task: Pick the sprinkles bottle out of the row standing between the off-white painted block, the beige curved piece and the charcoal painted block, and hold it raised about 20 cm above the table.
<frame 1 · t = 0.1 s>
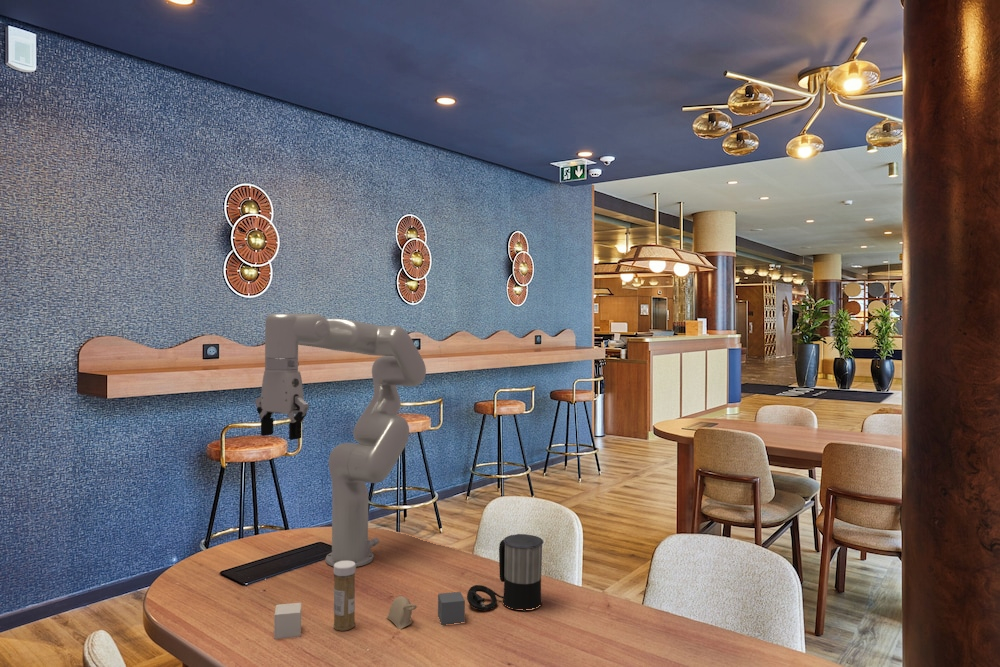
hand: (280, 436, 160), 37 cm above the table, tool pointing down, fingers open, 9 cm apart
charcoal block: (451, 620, 145), on the table
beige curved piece: (401, 624, 143), on the table
sprinkles bottle: (344, 627, 141), on the table
milk frother: (505, 605, 153), on the table
off-white block: (288, 632, 138), on the table
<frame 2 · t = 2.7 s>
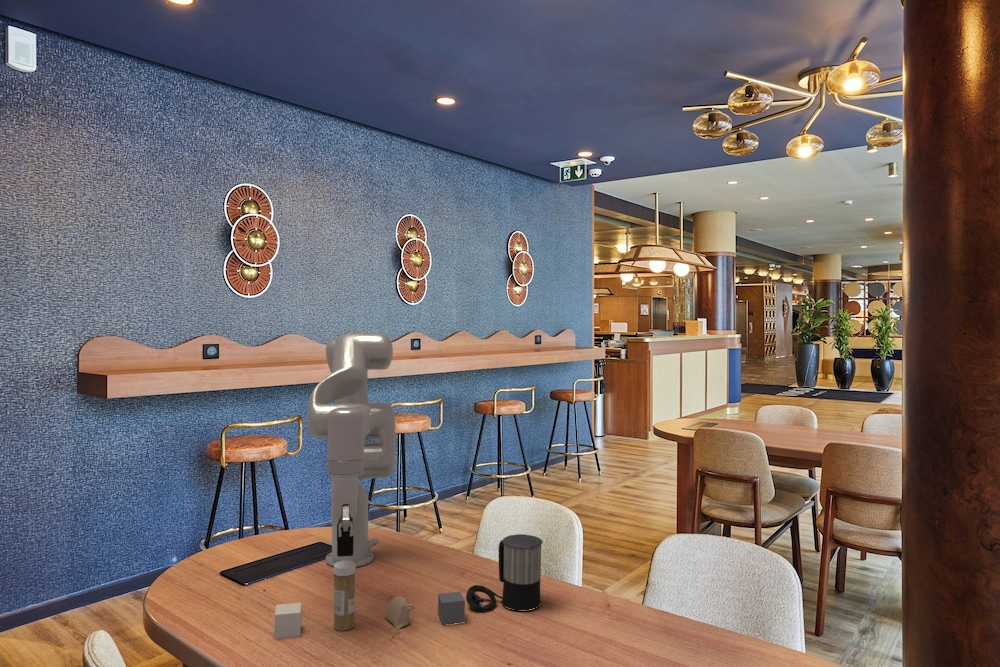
hand: (344, 548, 140), 17 cm above the table, tool pointing down, fingers open, 9 cm apart
nothing on the table moved.
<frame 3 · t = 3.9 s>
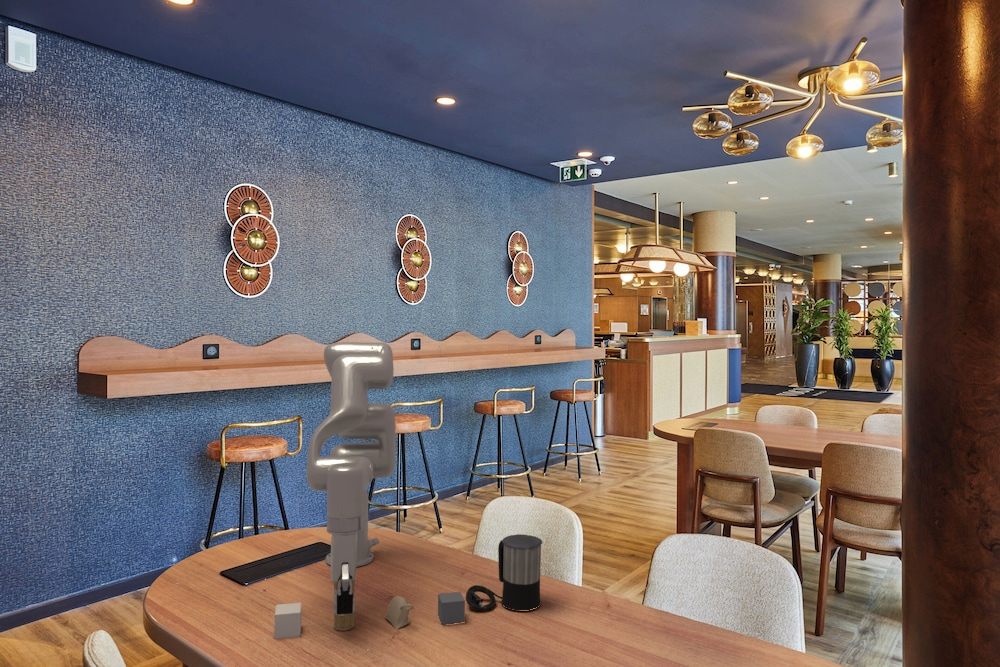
hand: (344, 603, 141), 5 cm above the table, tool pointing down, fingers open, 9 cm apart
nothing on the table moved.
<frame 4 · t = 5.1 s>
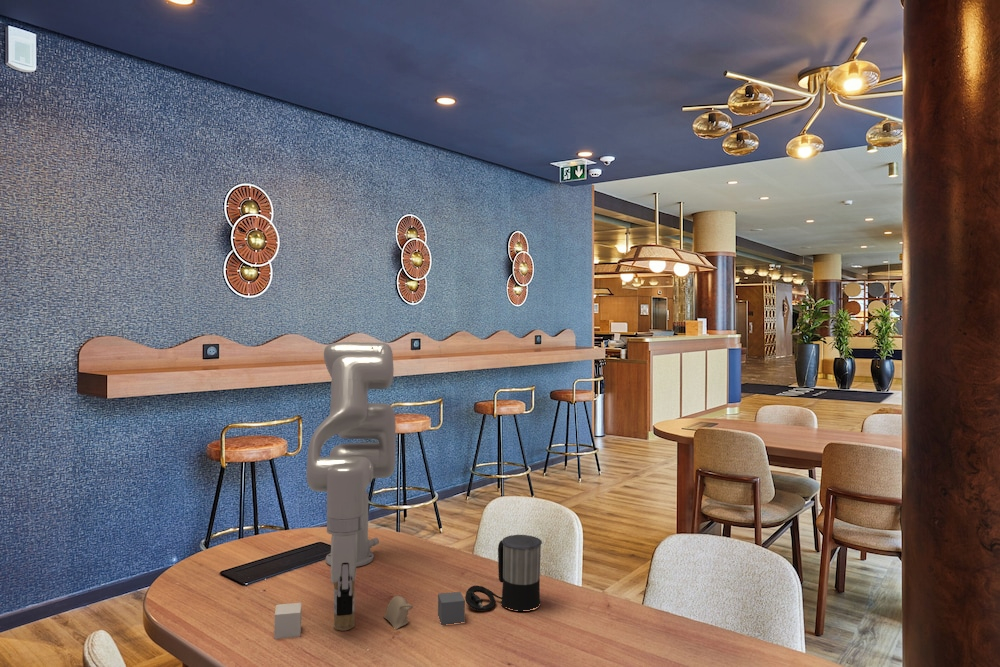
hand: (344, 608, 141), 4 cm above the table, tool pointing down, fingers closed on sprinkles bottle, 4 cm apart
sprinkles bottle: (344, 627, 141), on the table, touching gripper
everything else where it was.
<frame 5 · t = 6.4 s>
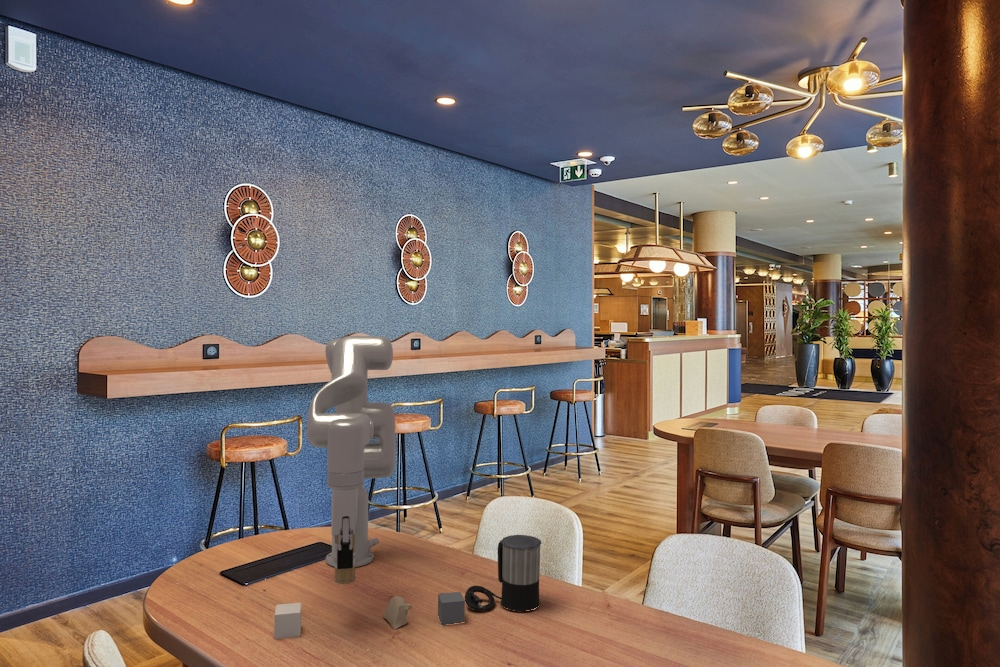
hand: (344, 562, 141), 13 cm above the table, tool pointing down, fingers closed on sprinkles bottle, 4 cm apart
sprinkles bottle: (344, 581, 142), point 9 cm above the table, touching gripper
everything else where it was.
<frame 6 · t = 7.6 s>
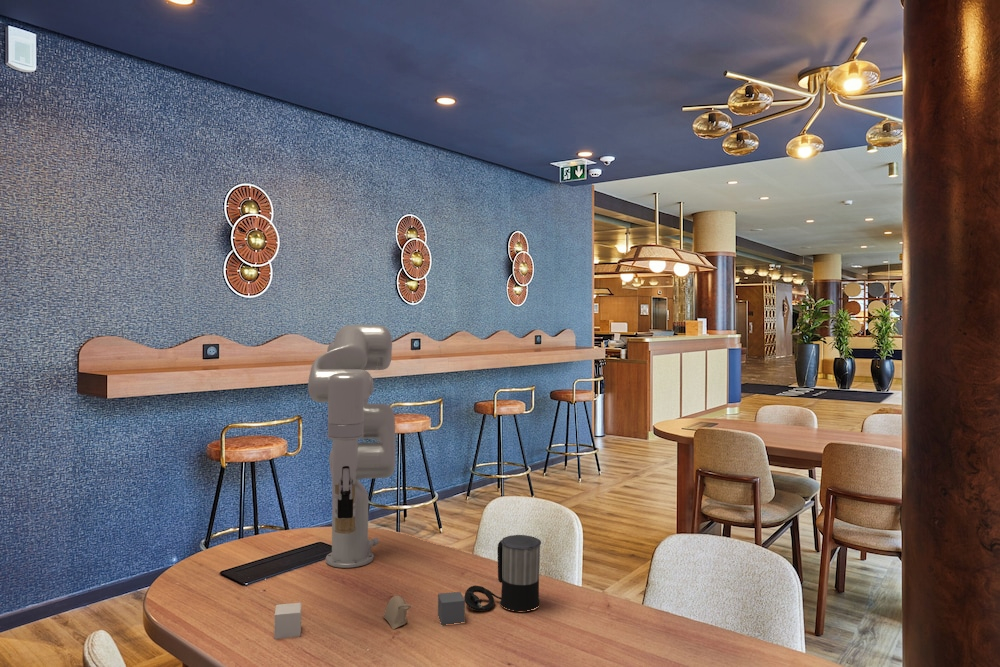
hand: (345, 513, 145), 23 cm above the table, tool pointing down, fingers closed on sprinkles bottle, 4 cm apart
sprinkles bottle: (344, 531, 145), point 19 cm above the table, touching gripper
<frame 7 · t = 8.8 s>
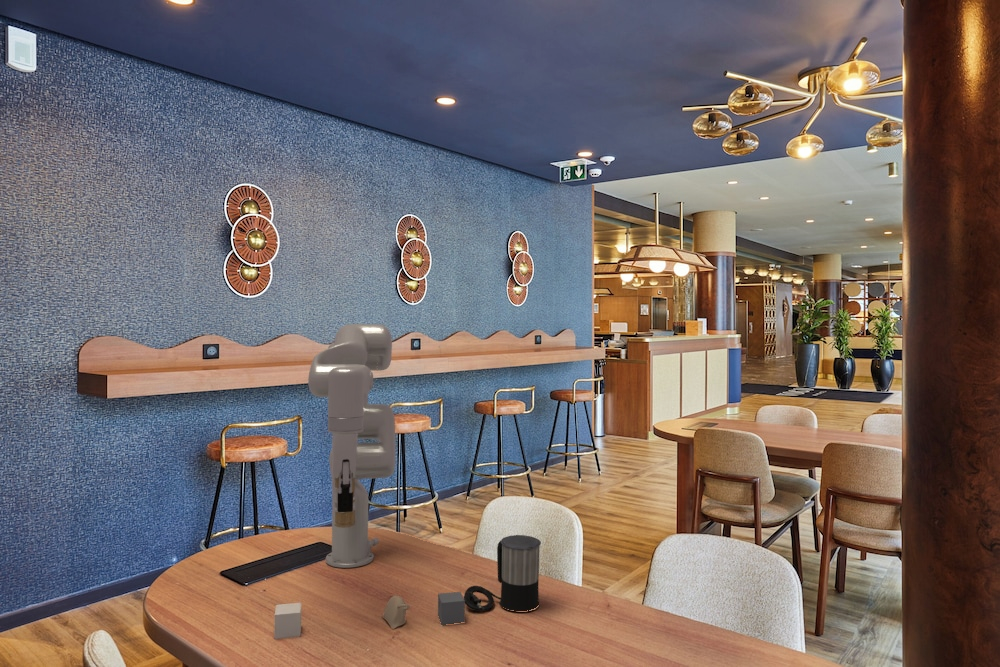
hand: (344, 507, 145), 24 cm above the table, tool pointing down, fingers closed on sprinkles bottle, 4 cm apart
sprinkles bottle: (344, 526, 145), point 20 cm above the table, touching gripper
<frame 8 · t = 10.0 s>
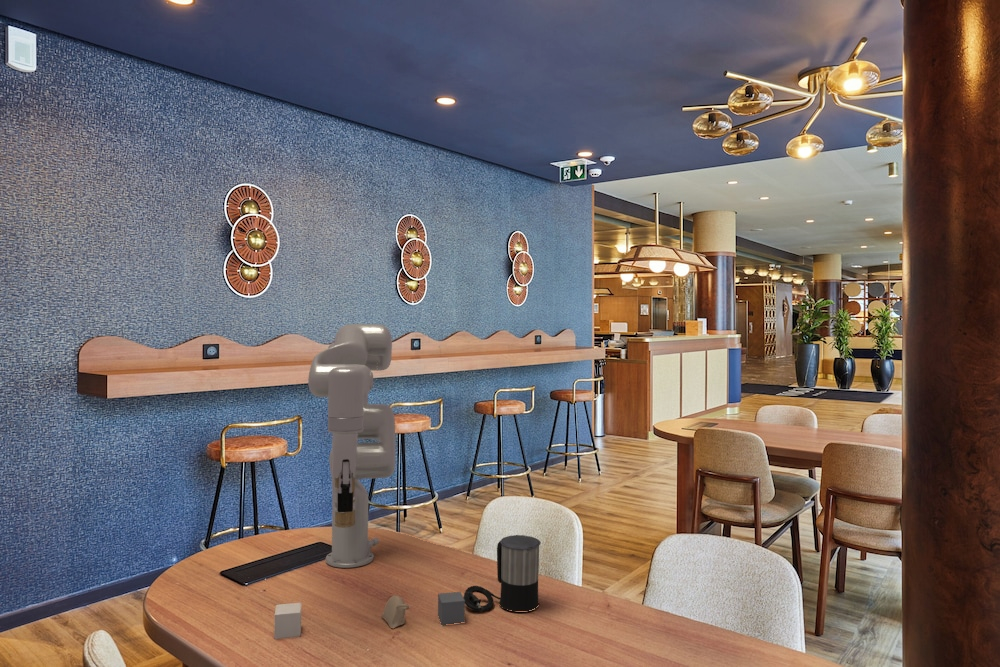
hand: (344, 507, 145), 24 cm above the table, tool pointing down, fingers closed on sprinkles bottle, 4 cm apart
sprinkles bottle: (344, 526, 145), point 20 cm above the table, touching gripper
at the end: the gripper is holding sprinkles bottle; sprinkles bottle point 20.0 cm above the table; off-white block moved 0.1 cm from its start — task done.
